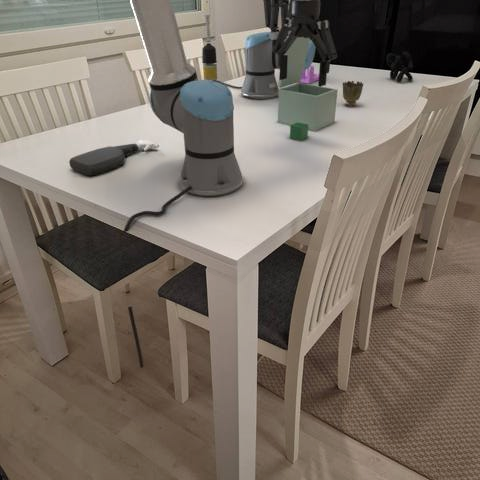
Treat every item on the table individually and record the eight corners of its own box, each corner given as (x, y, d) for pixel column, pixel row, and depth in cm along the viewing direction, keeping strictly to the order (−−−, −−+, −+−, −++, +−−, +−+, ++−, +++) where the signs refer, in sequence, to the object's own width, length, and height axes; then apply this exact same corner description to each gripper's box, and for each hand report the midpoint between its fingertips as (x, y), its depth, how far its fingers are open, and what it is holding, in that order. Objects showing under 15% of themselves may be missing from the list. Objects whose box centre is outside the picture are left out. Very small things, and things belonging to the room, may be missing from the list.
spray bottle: (67, 168, 120) (139, 144, 136) (91, 178, 114) (163, 151, 130) (65, 157, 118) (137, 134, 134) (89, 167, 112) (162, 142, 128)
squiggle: (400, 92, 202) (376, 71, 205) (417, 76, 202) (392, 56, 205) (405, 81, 191) (380, 59, 194) (423, 64, 191) (397, 42, 194)
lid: (311, 33, 143) (288, 25, 147) (289, 37, 135) (266, 28, 140) (300, 81, 153) (279, 72, 157) (280, 88, 145) (258, 78, 149)
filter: (220, 99, 177) (217, 15, 161) (206, 100, 176) (202, 16, 160) (215, 96, 182) (212, 14, 166) (202, 97, 180) (197, 14, 164)
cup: (337, 106, 166) (340, 84, 162) (343, 101, 171) (346, 79, 167) (357, 108, 163) (360, 86, 159) (363, 103, 168) (365, 81, 164)
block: (307, 137, 138) (308, 124, 136) (300, 140, 135) (301, 127, 133) (296, 134, 140) (297, 122, 138) (289, 138, 138) (290, 125, 135)
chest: (334, 122, 150) (337, 89, 145) (314, 131, 143) (317, 96, 137) (297, 114, 159) (299, 82, 153) (277, 122, 151) (278, 89, 146)
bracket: (309, 83, 198) (310, 66, 194) (298, 81, 200) (299, 65, 197) (323, 78, 206) (324, 62, 203) (312, 76, 209) (313, 60, 205)
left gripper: (355, -1, 113) (346, 85, 124) (277, -4, 127) (275, 74, 139) (340, 1, 108) (332, 91, 120) (260, -2, 123) (260, 78, 134)
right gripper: (309, -33, 132) (304, 52, 145) (268, -32, 141) (267, 48, 154) (294, -32, 128) (290, 56, 140) (253, -32, 136) (253, 51, 149)
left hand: (302, 82), depth 129 cm, fingers open, 13 cm apart
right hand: (278, 51), depth 147 cm, fingers closed on lid, 2 cm apart
